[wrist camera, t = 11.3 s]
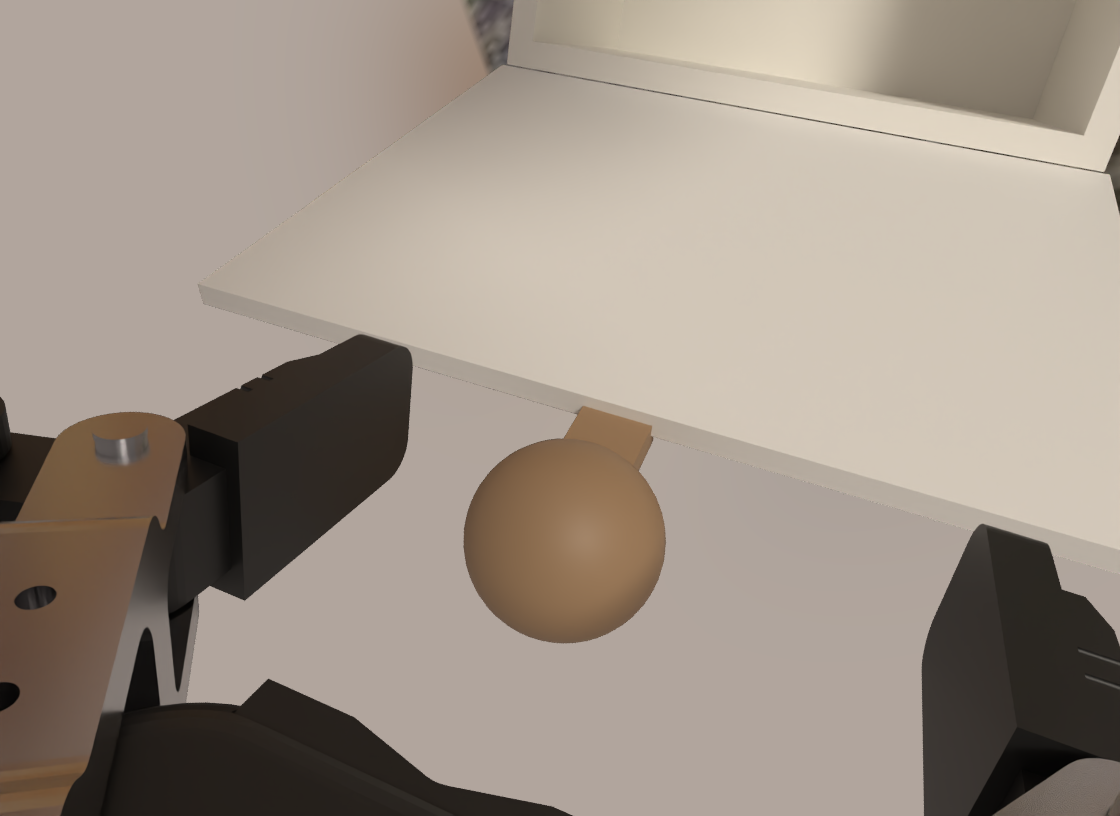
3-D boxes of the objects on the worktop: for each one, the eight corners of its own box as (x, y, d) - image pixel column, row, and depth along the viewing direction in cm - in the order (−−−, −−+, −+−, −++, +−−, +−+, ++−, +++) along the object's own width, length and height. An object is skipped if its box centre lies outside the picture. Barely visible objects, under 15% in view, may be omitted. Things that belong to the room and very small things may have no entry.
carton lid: (16, 370, 17) (84, 504, 19) (1309, 819, 11) (1152, 923, 13) (502, 42, 33) (503, 139, 35) (1122, 150, 27) (1068, 256, 30)
